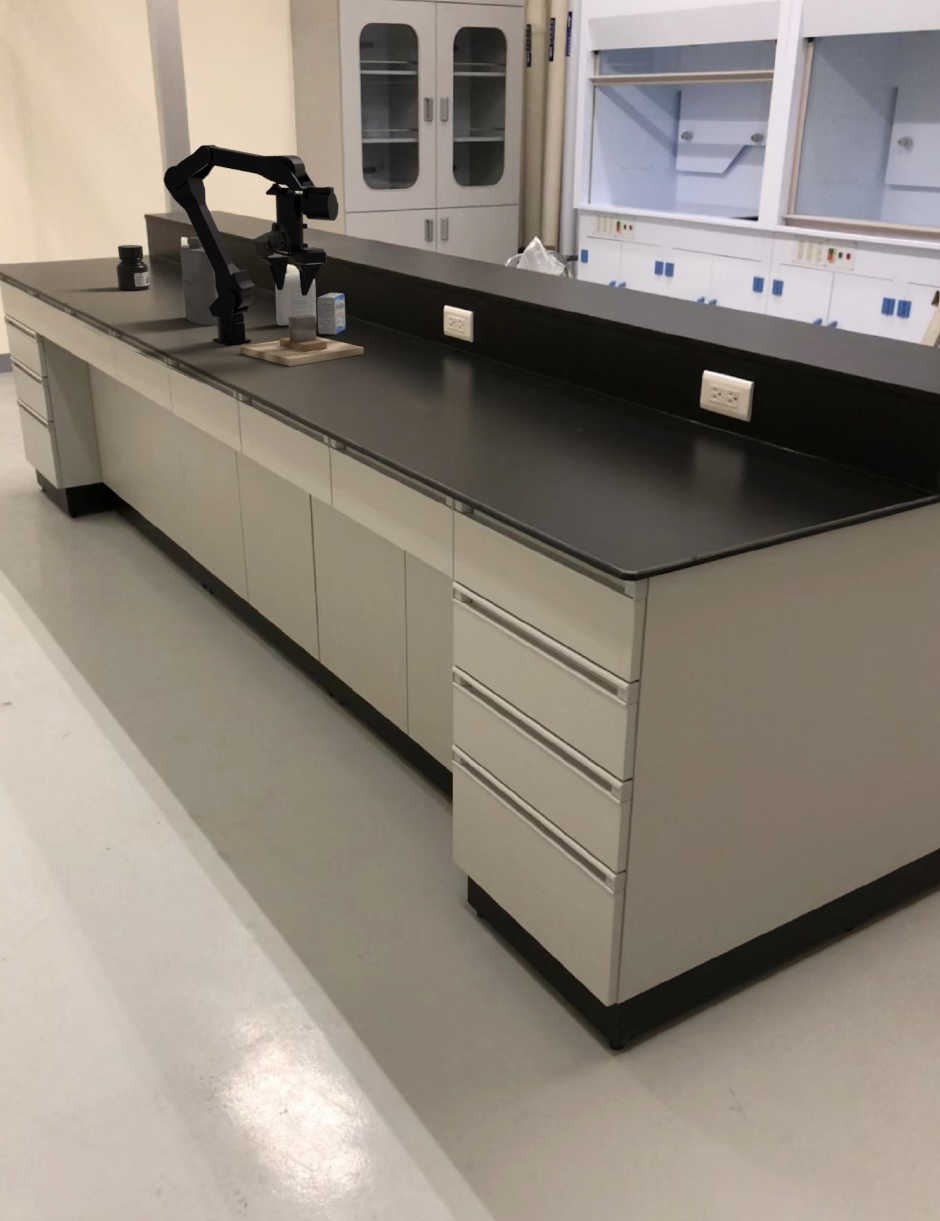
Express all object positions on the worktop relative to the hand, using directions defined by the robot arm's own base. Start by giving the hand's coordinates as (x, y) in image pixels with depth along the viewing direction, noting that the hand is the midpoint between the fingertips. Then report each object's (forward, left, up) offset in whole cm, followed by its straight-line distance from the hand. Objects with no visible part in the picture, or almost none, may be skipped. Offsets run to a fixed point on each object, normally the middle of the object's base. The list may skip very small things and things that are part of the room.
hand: (292, 292), depth 246 cm
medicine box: (-10, +19, -12) cm, 24 cm away
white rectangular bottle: (-24, +19, -12) cm, 32 cm away
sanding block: (+8, -3, -10) cm, 13 cm away
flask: (-42, +3, -12) cm, 43 cm away
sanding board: (+7, -3, -12) cm, 14 cm away
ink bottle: (-101, +18, -12) cm, 103 cm away
